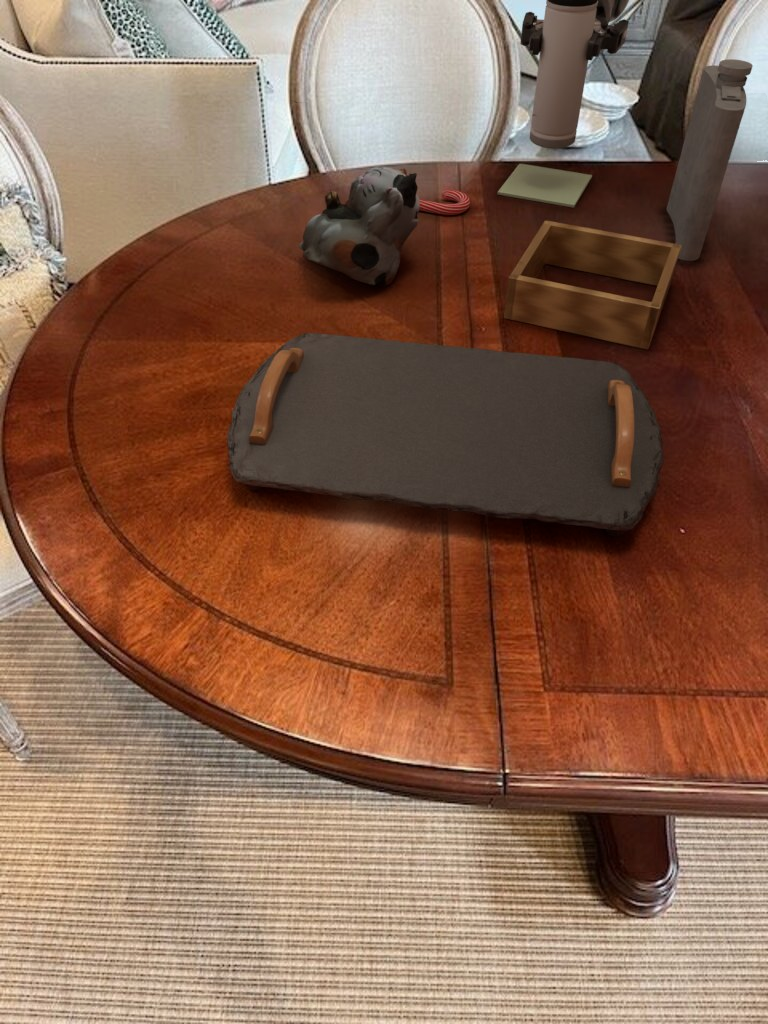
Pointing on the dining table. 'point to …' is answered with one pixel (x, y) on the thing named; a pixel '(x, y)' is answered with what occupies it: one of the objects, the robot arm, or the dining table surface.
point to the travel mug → (561, 71)
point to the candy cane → (447, 208)
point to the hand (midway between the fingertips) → (563, 48)
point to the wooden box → (585, 306)
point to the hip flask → (706, 152)
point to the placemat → (545, 185)
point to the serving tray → (449, 430)
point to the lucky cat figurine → (365, 226)
